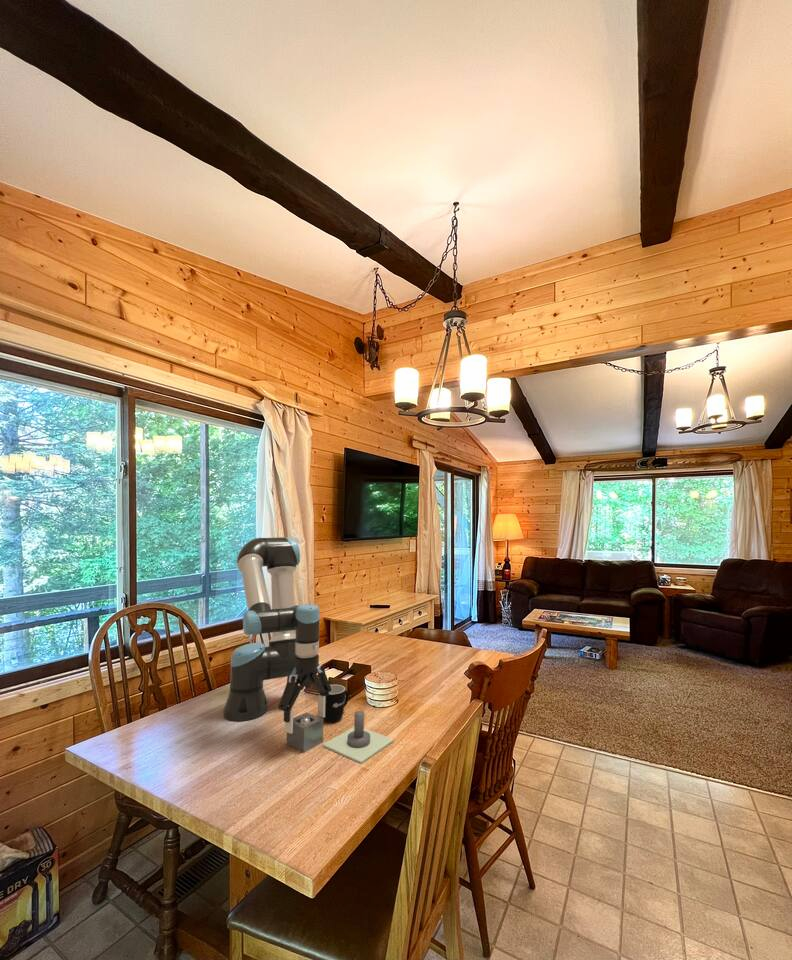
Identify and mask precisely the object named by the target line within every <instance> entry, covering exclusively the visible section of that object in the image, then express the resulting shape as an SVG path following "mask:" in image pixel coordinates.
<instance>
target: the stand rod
mask: <svg viewBox="0 0 792 960" xmlns="http://www.w3.org/2000/svg"><path fill="white" fill-rule="evenodd" d="M300 723H301V724H304V725H306V724H308V723H310V717H308V716H304V717H302V718H301V721H300Z"/></svg>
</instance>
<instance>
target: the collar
mask: <svg viewBox="0 0 792 960" xmlns="http://www.w3.org/2000/svg"><path fill="white" fill-rule="evenodd" d="M304 716H308V717H310V723H308V724H306V725H304V724H301V723H300V721H301V718H302V717H304ZM322 743H324V720H323V718H322V717H320V716H318V715H314V714H312V713H309V712H306V711H305V712H304V713H302V714H300V715H297V716H295V717H293V733H291V734H290V733H288V732H286V745H287V746H289V747H291V748H293V749H295V750H297V751H299V752H301V753H305V752H308V751H309V750H311V749H313V748H314V747H316V746H318V745H320V744H322Z"/></svg>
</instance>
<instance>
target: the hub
mask: <svg viewBox="0 0 792 960" xmlns="http://www.w3.org/2000/svg"><path fill="white" fill-rule="evenodd" d="M353 724H354V726H353V727H351V728H349V729H348V730H346V731H344V732H342V733H340V734H338V735H337V736H335V737H333V738H332V739H330V740H327V741H326V742H323V744H322V747H323V748H324V749H328V750H329V751H331V752H334V753H336V754H338V755H341V756H342V757H345V758H348V759H349V760H352V761H354V762H355V763H358V764H360V765H362V764H363V763H366V761H368V760H369V759H371V758H372V757H374V756H375V755H376V754H378V753H379V752H381V751H382V750H384V749H386V747H389V746H390V745H391V744H392V743H394V742H395V739H394V738H391V737H389V736H387V735H383V734H381V733H378V732H375V731H373V730H370V729H368V728H366V727H365V712H364V711H362V710H356V711H355V712H354V723H353Z"/></svg>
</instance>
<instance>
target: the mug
mask: <svg viewBox="0 0 792 960" xmlns="http://www.w3.org/2000/svg"><path fill="white" fill-rule="evenodd" d="M330 687H331V691H330V692H329V695H328V696H326V705H325V717H324V718H322V719H323V722H325V723H336V722H339V721H340V720H341V719H342V717H343V714H344V710H345V707H346V706H347V704H348V703H349V702H348V701H349V693H348V691H347V690H346V687H345V686H343V685H341V684H330ZM319 695H321V694H320V693H319Z"/></svg>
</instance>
